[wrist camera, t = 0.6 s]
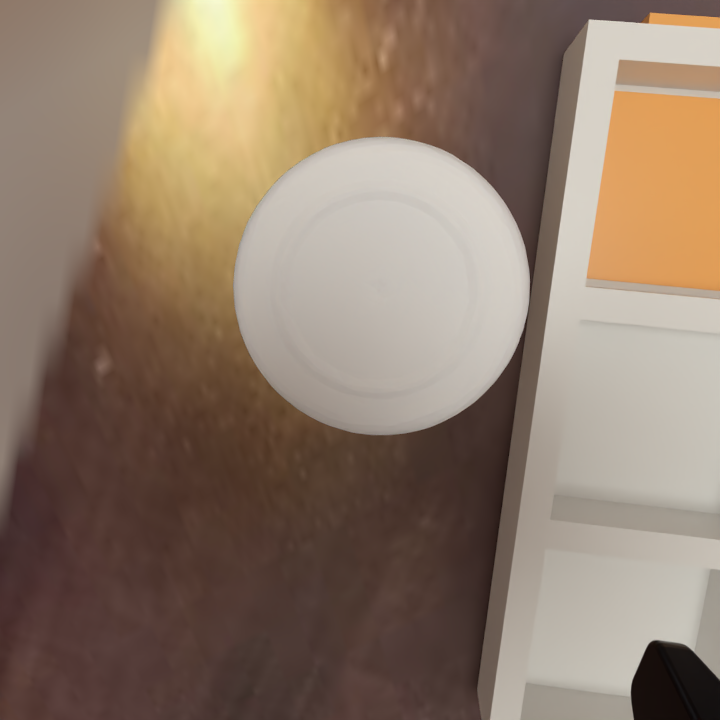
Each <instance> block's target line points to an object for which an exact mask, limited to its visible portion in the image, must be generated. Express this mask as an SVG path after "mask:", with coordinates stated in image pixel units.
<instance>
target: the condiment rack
mask: <svg viewBox="0 0 720 720" xmlns="http://www.w3.org/2000/svg"><path fill="white" fill-rule="evenodd" d="M653 640H662V641H669V642H676V643H681V644H684V645H686V646H688V647H689V648H690V649H691V650H692V651H694V653H695V654H696V655H697V656H698V657H699V658H700V659H701V660H702V661H703V662H704V663H705V665H706V666H707V667H708V668H709V669H710V670H711V671H712V672H713V673H714V674H715V675H716V676H717V678H718V679H719V680H720V18H718V17H703V16H688V15H674V14H659V13H650V14H649V15H648V16H647V17H646V18H645V19H644V20H643V21H642V22H641V23H631V22H616V21H602V20H588V22H587V23H586V24H585V26H584V27H583V29H582V30H581V31H580V33H579V34H578V35H577V37H576V38H575V39H574V41H573V42H572V43H571V45H570V46H569V47H568V49H567V50H566V52H565V53H564V56H563V64H562V71H561V78H560V86H559V93H558V100H557V107H556V115H555V122H554V129H553V137H552V144H551V151H550V159H549V166H548V173H547V181H546V188H545V195H544V203H543V210H542V217H541V225H540V232H539V239H538V247H537V254H536V261H535V269H534V276H533V283H532V291H531V298H530V305H529V313H528V320H527V327H526V335H525V342H524V349H523V356H522V364H521V371H520V378H519V386H518V393H517V400H516V408H515V415H514V422H513V430H512V437H511V444H510V452H509V459H508V466H507V474H506V481H505V488H504V496H503V503H502V510H501V518H500V525H499V532H498V540H497V547H496V554H495V562H494V569H493V576H492V584H491V591H490V598H489V605H488V613H487V620H486V627H485V635H484V642H483V649H482V657H481V664H480V671H479V679H478V686H477V694H478V700H479V707H480V713H481V720H634V718H633V711H632V704H631V684H632V680H633V677H634V675H635V673H636V670H637V668H638V666H639V663H640V661H641V659H642V657H643V654H644V652H645V650H646V647H647V646H648V644H649V643H650V642H651V641H653Z"/></svg>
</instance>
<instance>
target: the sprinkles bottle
mask: <svg viewBox="0 0 720 720" xmlns="http://www.w3.org/2000/svg"><path fill="white" fill-rule="evenodd" d="M233 289H234V303H235V311H236V315H237V319H238V324H239V328H240V332H241V335H242V338H243V340H244V343H245V345H246V347H247V350H248V352H249V354H250V356H251V358H252V359H253V361H254V363H255V364H256V366H257V368H258V369H259V371H260V372H261V373H262V375H263V376H264V377H265V379H266V380H267V381H268V382H269V384H270V385H271V386H272V387H273V388H274V389H275V390H276V391H277V393H279V394H280V395H281V396H282V397H283V398H284V399H285V400H287V401H288V402H289V403H290V404H292V405H293V406H294V407H295V408H297V409H298V410H300V411H302V412H303V413H305V414H306V415H308V416H310V417H312V418H313V419H315V420H317V421H319V422H321V423H324V424H326V425H328V426H332V427H335V428H338V429H341V430H345V431H348V432H352V433H359V434H367V435H395V434H404V433H409V432H414V431H419V430H423V429H426V428H429V427H432V426H434V425H437V424H439V423H441V422H443V421H445V420H447V419H449V418H451V417H453V416H455V415H457V414H458V413H460V412H461V411H463V410H464V409H466V408H467V407H469V406H470V405H471V404H473V403H474V402H475V401H477V400H478V399H479V398H480V397H481V396H482V395H483V394H484V393H485V392H486V391H487V390H488V389H489V388H490V387H491V386H492V385H493V384H494V382H495V381H496V380H497V379H498V377H499V376H500V375H501V373H502V372H503V370H504V369H505V368H506V366H507V365H508V363H509V361H510V360H511V358H512V356H513V354H514V352H515V350H516V348H517V345H518V343H519V340H520V337H521V334H522V332H523V329H524V325H525V321H526V317H527V313H528V306H529V293H530V275H529V266H528V260H527V255H526V249H525V245H524V242H523V239H522V236H521V233H520V231H519V229H518V226H517V224H516V222H515V220H514V218H513V216H512V214H511V212H510V210H509V209H508V207H507V206H506V204H505V203H504V201H503V200H502V198H501V197H500V196H499V195H498V193H497V192H496V191H495V189H494V188H493V187H492V186H491V185H490V184H489V183H488V182H487V181H486V180H485V179H484V178H483V177H482V176H481V175H480V174H479V173H478V172H477V171H475V170H474V169H473V168H472V167H470V166H469V165H467V164H466V163H464V162H463V161H461V160H460V159H458V158H457V157H455V156H454V155H452V154H450V153H448V152H446V151H444V150H442V149H440V148H437V147H434V146H431V145H428V144H425V143H421V142H417V141H413V140H408V139H402V138H394V137H370V138H361V139H355V140H350V141H346V142H342V143H338V144H335V145H332V146H329V147H326V148H324V149H322V150H320V151H318V152H316V153H314V154H312V155H310V156H309V157H307V158H305V159H303V160H302V161H300V162H299V163H297V164H296V165H295V166H293V167H292V168H291V169H289V170H288V171H287V172H286V173H285V174H283V175H282V176H281V177H280V178H279V179H278V180H277V181H276V182H275V183H274V185H273V186H272V187H271V188H270V189H269V190H268V192H267V193H266V194H265V196H264V197H263V198H262V200H261V201H260V202H259V204H258V205H257V206H256V208H255V210H254V212H253V214H252V215H251V217H250V219H249V221H248V223H247V225H246V228H245V230H244V233H243V236H242V239H241V242H240V244H239V248H238V253H237V258H236V263H235V270H234V283H233Z"/></svg>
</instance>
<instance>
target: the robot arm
mask: <svg viewBox="0 0 720 720" xmlns="http://www.w3.org/2000/svg"><path fill="white" fill-rule="evenodd" d="M631 704H632V711H633V718H634V720H720V680H719V679H718V678H717V676H716V675H715V674H714V673H713V672H712V671H711V670H710V669H709V668H708V667H707V666H706V665H705V663H704V662H703V661H702V660H701V659H700V658H699V657H698V656H697V655H696V654H695V653H694V651H692V650H691V649H690V648H689V647H688V646H686V645H684V644H681V643H676V642H669V641H662V640H653V641H651V642H650V643H649V644H648V646H647V647H646V650H645V652H644V654H643V657H642V659H641V661H640V663H639V666H638V668H637V670H636V673H635V675H634V677H633V680H632V684H631Z"/></svg>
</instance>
